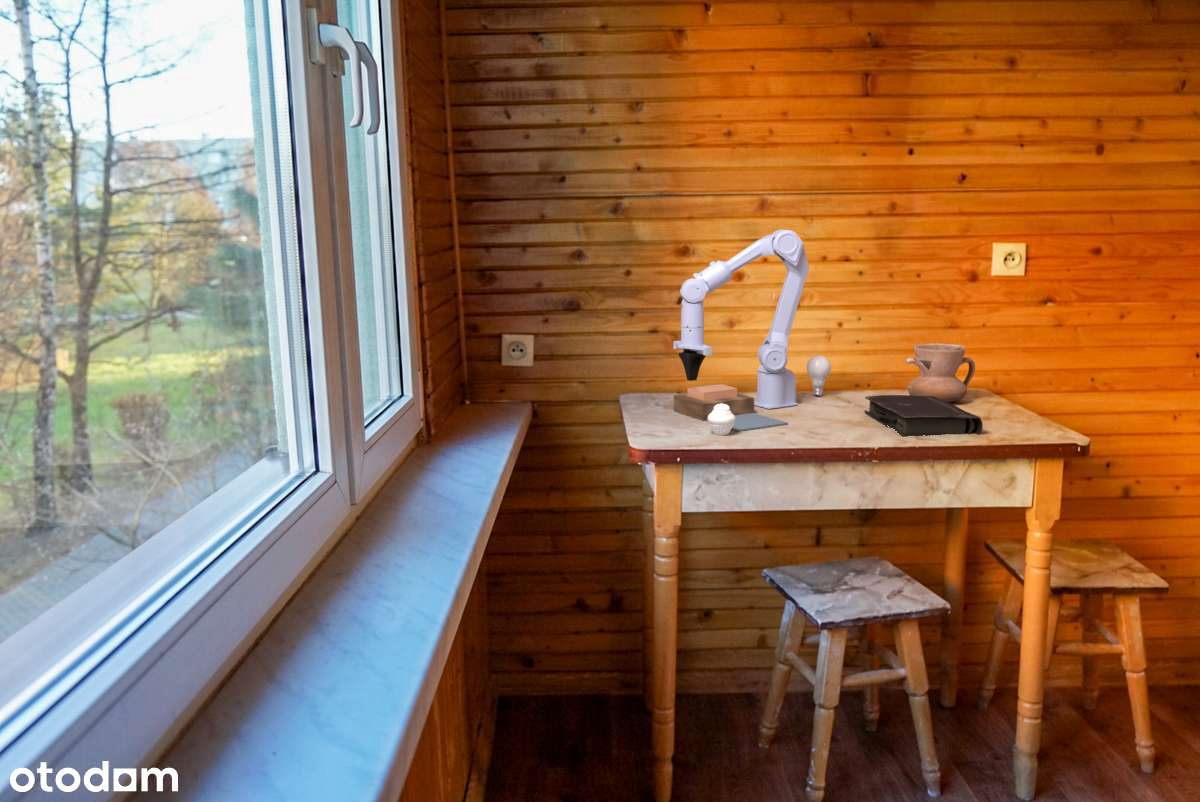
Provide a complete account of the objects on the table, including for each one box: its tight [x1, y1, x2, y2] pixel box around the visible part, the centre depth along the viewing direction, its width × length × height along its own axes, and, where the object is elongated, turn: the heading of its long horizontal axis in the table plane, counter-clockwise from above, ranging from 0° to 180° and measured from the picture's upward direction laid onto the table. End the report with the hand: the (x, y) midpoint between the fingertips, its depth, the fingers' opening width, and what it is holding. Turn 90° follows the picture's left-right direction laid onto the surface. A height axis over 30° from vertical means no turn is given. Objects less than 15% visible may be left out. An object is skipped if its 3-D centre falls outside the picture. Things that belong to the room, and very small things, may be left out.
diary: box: [863, 394, 984, 438], centre depth 216 cm, size 19×25×5 cm
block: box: [687, 383, 739, 401], centre depth 230 cm, size 10×7×2 cm
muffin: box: [707, 403, 735, 436], centre depth 208 cm, size 6×6×7 cm
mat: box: [705, 412, 789, 432], centre depth 219 cm, size 14×13×1 cm
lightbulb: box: [806, 354, 832, 397], centre depth 248 cm, size 6×6×11 cm
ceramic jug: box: [905, 343, 976, 404], centre depth 240 cm, size 18×14×14 cm
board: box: [673, 392, 755, 422], centre depth 231 cm, size 15×13×4 cm
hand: (691, 380), depth 238 cm, fingers closed
